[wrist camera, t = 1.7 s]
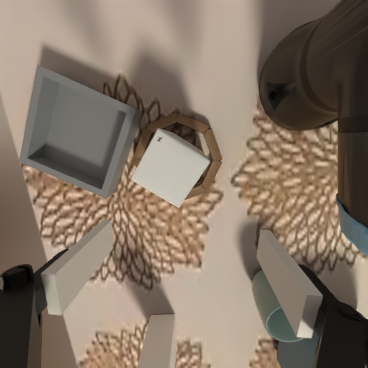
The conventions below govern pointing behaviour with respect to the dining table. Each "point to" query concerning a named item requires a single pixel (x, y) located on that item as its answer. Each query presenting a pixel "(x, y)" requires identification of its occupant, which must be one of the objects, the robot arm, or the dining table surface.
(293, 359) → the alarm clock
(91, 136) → the bin
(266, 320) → the cup
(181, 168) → the supplement box
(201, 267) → the dining table surface
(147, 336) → the milk
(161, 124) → the ring
